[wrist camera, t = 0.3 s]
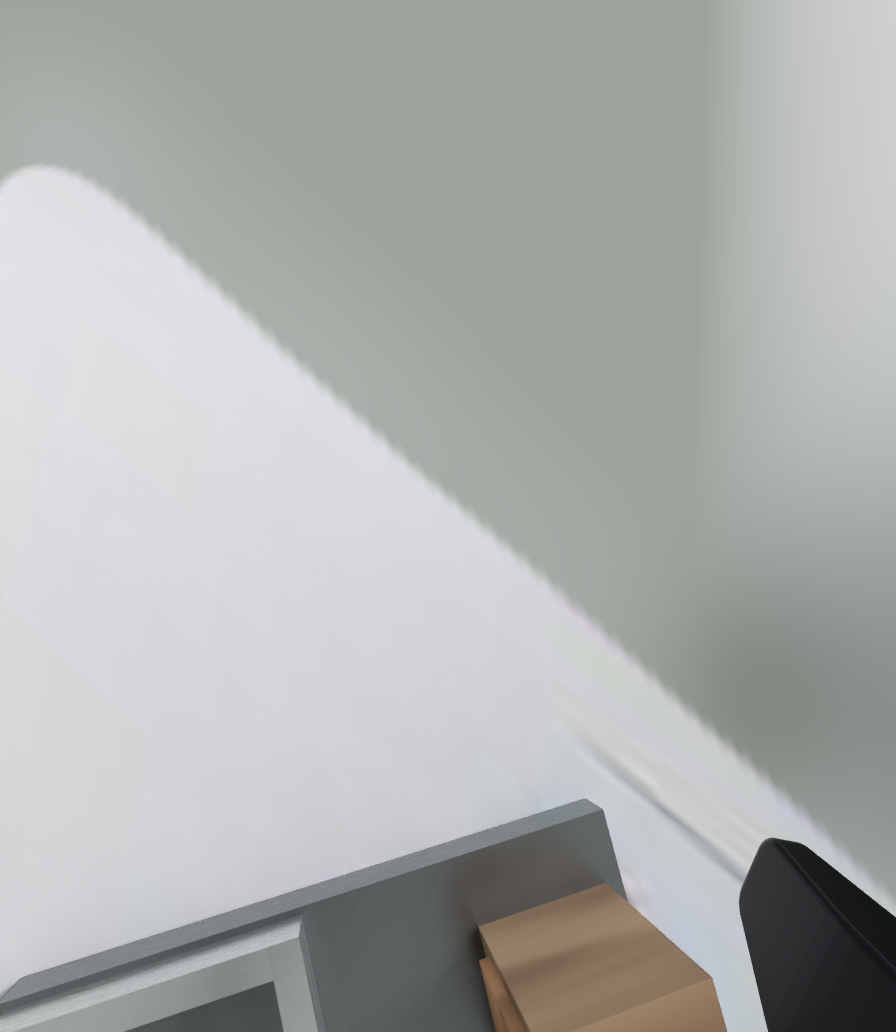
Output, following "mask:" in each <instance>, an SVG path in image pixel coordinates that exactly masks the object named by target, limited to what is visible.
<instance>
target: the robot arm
mask: <svg viewBox="0 0 896 1032" xmlns="http://www.w3.org/2000/svg"><path fill="white" fill-rule="evenodd" d="M739 908H740V915H741V919H742V924H743V928H744V932H745V936H746V940H747V945H748V949H749V953H750V957H751V962H752V966H753V970H754V974H755V978H756V983H757V987H758V991H759V995H760V999H761V1004H762V1008H763V1012H764V1016H765V1021H766V1025H767V1029H768V1032H896V917H895V916H893V915H892V914H891V913H890V912H888V911H887V910H886V909H885V908H883V907H882V906H881V905H879V904H878V903H877V902H876V901H874V900H873V899H872V898H871V897H869V896H868V895H867V894H866V893H864V892H863V891H862V890H861V889H859V888H858V887H857V886H856V885H854V884H853V883H852V882H851V881H849V880H848V879H847V878H846V877H844V876H843V875H842V874H840V873H839V872H838V871H837V870H835V869H834V868H833V867H832V866H830V865H829V864H828V863H827V862H825V861H824V860H823V859H822V858H820V857H819V856H818V855H817V854H815V853H814V852H813V851H812V850H810V849H809V848H808V847H806V846H805V845H803V844H801V843H798V842H793V841H788V840H782V839H777V838H768V839H766V840H764V841H763V842H762V843H761V845H760V847H759V849H758V851H757V854H756V856H755V858H754V860H753V863H752V865H751V867H750V870H749V872H748V874H747V876H746V879H745V881H744V883H743V886H742V888H741V892H740V897H739Z"/></svg>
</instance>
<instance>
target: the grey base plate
mask: <svg viewBox="0 0 896 1032" xmlns="http://www.w3.org/2000/svg"><path fill="white" fill-rule="evenodd" d="M603 883H607V884H608V885H609V886H610V887H611V888H612V889H614V890H615V891H616V892H617V893H618V894H619V895H620V896H621V897H622V898H624V899H625V900H626V901H627V898H626V894H625V890H624V886H623V883H622V879H621V875H620V871H619V868H618V864H617V860H616V856H615V853H614V849H613V845H612V842H611V838H610V834H609V830H608V827H607V823H606V819H605V815H604V812H603V809H602V808H600V807H598V806H597V805H595V804H594V803H592V802H590V801H589V800H587V799H586V798H585V799H582V800H579V801H576V802H573V803H570V804H567V805H563V806H560V807H557V808H554V809H551V810H548V811H545V812H541V813H538V814H535V815H532V816H529V817H526V818H522V819H519V820H516V821H513V822H510V823H507V824H504V825H500V826H497V827H494V828H491V829H488V830H485V831H482V832H478V833H475V834H472V835H469V836H466V837H463V838H460V839H456V840H453V841H450V842H447V843H444V844H441V845H438V846H434V847H431V848H428V849H425V850H422V851H419V852H416V853H412V854H409V855H406V856H403V857H400V858H397V859H393V860H390V861H387V862H384V863H381V864H378V865H375V866H371V867H368V868H365V869H362V870H359V871H356V872H353V873H349V874H346V875H343V876H340V877H337V878H334V879H331V880H327V881H324V882H321V883H318V884H315V885H312V886H309V887H305V888H302V889H299V890H296V891H293V892H290V893H286V894H283V895H280V896H277V897H274V898H271V899H268V900H264V901H261V902H258V903H255V904H252V905H249V906H246V907H242V908H239V909H236V910H233V911H230V912H227V913H224V914H220V915H217V916H214V917H211V918H208V919H205V920H202V921H198V922H195V923H192V924H189V925H186V926H183V927H180V928H176V929H173V930H170V931H167V932H164V933H161V934H157V935H154V936H151V937H148V938H145V939H142V940H139V941H135V942H132V943H129V944H126V945H123V946H120V947H117V948H113V949H110V950H107V951H104V952H101V953H98V954H95V955H91V956H88V957H85V958H82V959H79V960H76V961H73V962H69V963H66V964H63V965H60V966H57V967H54V968H51V969H47V970H44V971H41V972H38V973H35V974H32V975H28V976H25V977H22V978H21V979H20V980H19V981H18V982H17V983H16V984H15V985H14V986H13V987H12V988H11V990H10V991H9V992H8V993H7V994H6V995H5V996H4V997H3V998H2V999H1V1000H0V1032H496V1030H495V1026H494V1022H493V1018H492V1014H491V1009H490V1005H489V1001H488V997H487V992H486V988H485V984H484V980H483V975H482V971H481V967H480V963H479V960H481V959H484V958H486V956H485V952H484V948H483V944H482V939H481V935H480V931H479V926H482V925H485V924H487V923H490V922H493V921H496V920H499V919H502V918H505V917H508V916H511V915H514V914H516V913H519V912H522V911H525V910H528V909H531V908H534V907H537V906H540V905H542V904H545V903H548V902H551V901H554V900H557V899H560V898H563V897H566V896H568V895H571V894H574V893H577V892H580V891H583V890H586V889H589V888H592V887H595V886H597V885H600V884H603ZM627 902H628V901H627Z"/></svg>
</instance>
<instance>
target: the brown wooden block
mask: <svg viewBox="0 0 896 1032" xmlns="http://www.w3.org/2000/svg"><path fill="white" fill-rule="evenodd" d="M479 931H480V935H481V939H482V944H483V948H484V952H485V956H486V958H484V959H481V960H479V963H480V967H481V971H482V975H483V980H484V984H485V988H486V992H487V997H488V1001H489V1005H490V1009H491V1014H492V1018H493V1022H494V1026H495V1030H496V1032H727V1029H726V1026H725V1022H724V1018H723V1015H722V1011H721V1008H720V1004H719V1001H718V997H717V993H716V990H715V986H714V983H713V979H712V977H711V976H710V975H709V974H708V973H706V972H705V971H704V970H703V969H702V968H701V967H700V966H699V965H697V964H696V963H695V962H694V961H693V960H692V959H691V958H690V957H689V956H687V955H686V954H685V953H684V952H683V951H682V950H681V949H680V948H678V947H677V946H676V945H675V944H674V943H673V942H672V941H671V940H669V939H668V938H667V937H666V936H665V935H664V934H663V933H662V932H661V931H659V930H658V929H657V928H656V927H655V926H654V925H653V924H652V923H650V922H649V921H648V920H647V919H646V918H645V917H644V916H643V915H642V914H640V913H639V912H638V911H637V910H636V909H635V908H634V907H633V906H631V905H630V904H629V903H628V902H627V901H626V900H625V899H624V898H622V897H621V896H620V895H619V894H618V893H617V892H616V891H615V890H614V889H612V888H611V887H610V886H609V885H608V884H607V883H603V884H600V885H597V886H595V887H592V888H589V889H586V890H583V891H580V892H577V893H574V894H571V895H568V896H566V897H563V898H560V899H557V900H554V901H551V902H548V903H545V904H542V905H540V906H537V907H534V908H531V909H528V910H525V911H522V912H519V913H516V914H514V915H511V916H508V917H505V918H502V919H499V920H496V921H493V922H490V923H487V924H485V925H482V926H479Z"/></svg>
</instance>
